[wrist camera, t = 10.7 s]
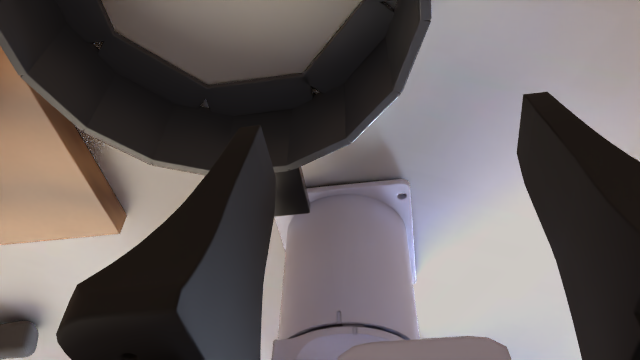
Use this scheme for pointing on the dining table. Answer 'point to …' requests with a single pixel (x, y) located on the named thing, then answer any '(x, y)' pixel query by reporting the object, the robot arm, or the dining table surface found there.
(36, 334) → the kitchen knife
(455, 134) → the dining table surface
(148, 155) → the cooking pot
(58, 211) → the cutting board
